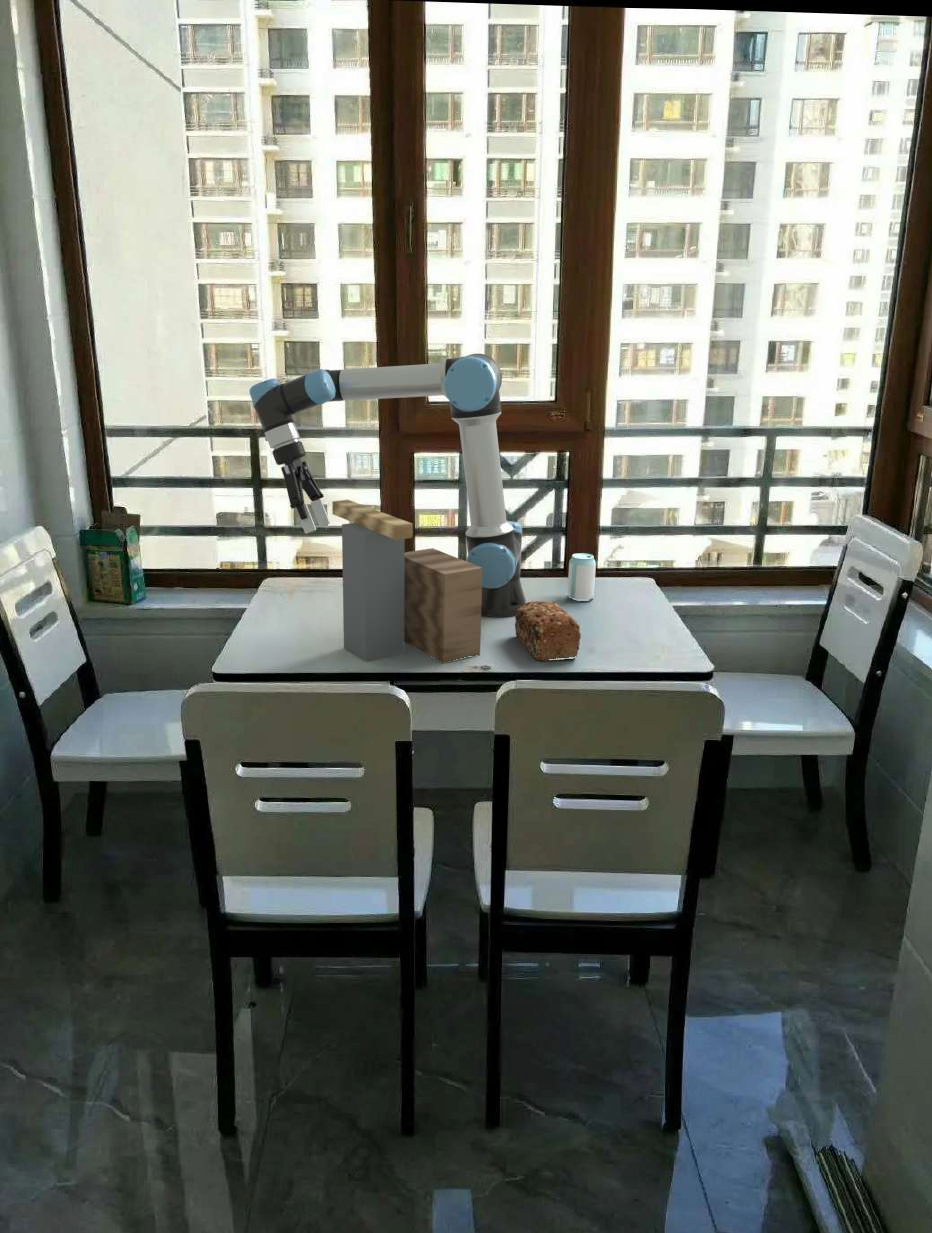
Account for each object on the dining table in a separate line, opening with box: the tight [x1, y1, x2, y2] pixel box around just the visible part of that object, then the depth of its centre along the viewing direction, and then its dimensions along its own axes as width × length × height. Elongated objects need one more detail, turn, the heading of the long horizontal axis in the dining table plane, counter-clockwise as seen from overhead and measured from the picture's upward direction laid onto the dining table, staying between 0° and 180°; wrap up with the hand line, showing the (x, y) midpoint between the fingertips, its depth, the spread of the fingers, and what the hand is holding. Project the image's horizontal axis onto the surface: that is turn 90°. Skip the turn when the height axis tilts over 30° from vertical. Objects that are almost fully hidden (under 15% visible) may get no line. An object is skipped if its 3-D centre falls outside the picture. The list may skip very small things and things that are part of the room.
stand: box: [341, 522, 406, 662], centre depth 223 cm, size 10×10×29 cm
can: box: [567, 552, 597, 599], centre depth 267 cm, size 7×7×12 cm
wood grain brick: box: [404, 547, 483, 664], centre depth 228 cm, size 20×10×20 cm, turn 35°
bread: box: [514, 600, 582, 661], centre depth 231 cm, size 19×11×10 cm, turn 13°
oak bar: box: [331, 499, 414, 540], centre depth 218 cm, size 28×4×3 cm, turn 35°
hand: (318, 528), depth 242 cm, fingers open, 13 cm apart
